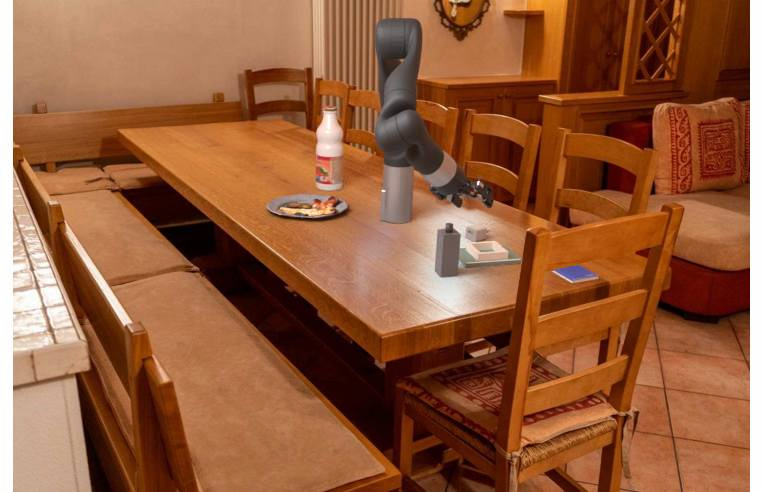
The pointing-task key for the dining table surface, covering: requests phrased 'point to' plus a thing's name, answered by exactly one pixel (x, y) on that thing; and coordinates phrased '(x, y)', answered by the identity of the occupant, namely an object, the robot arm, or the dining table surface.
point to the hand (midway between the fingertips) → (475, 204)
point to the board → (486, 254)
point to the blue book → (576, 274)
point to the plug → (447, 251)
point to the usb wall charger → (476, 232)
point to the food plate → (308, 205)
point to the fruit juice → (329, 152)
